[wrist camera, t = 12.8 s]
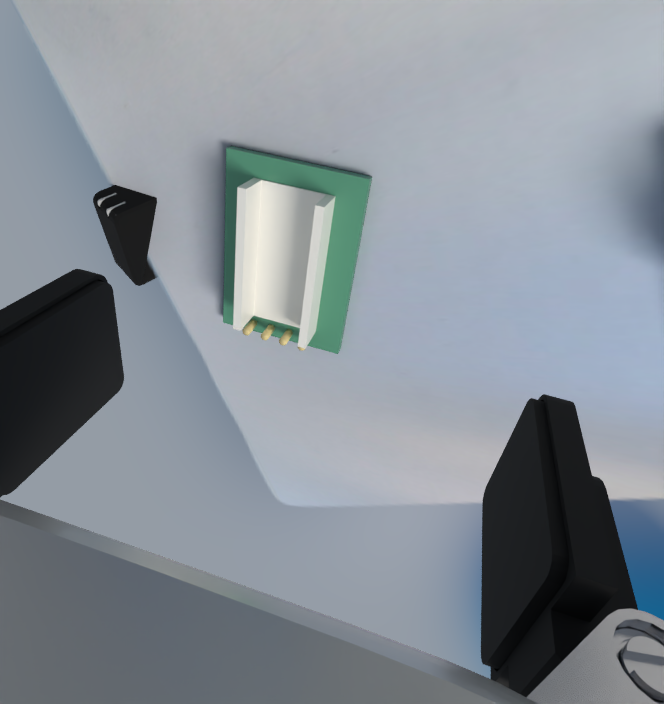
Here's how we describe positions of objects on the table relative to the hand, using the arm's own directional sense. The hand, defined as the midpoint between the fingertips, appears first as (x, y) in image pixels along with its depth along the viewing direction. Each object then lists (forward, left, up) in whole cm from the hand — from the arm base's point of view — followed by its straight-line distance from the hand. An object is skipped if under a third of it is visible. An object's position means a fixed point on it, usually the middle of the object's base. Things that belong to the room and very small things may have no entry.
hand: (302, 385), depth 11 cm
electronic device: (+13, -25, -41) cm, 50 cm away
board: (+13, -11, -34) cm, 38 cm away
